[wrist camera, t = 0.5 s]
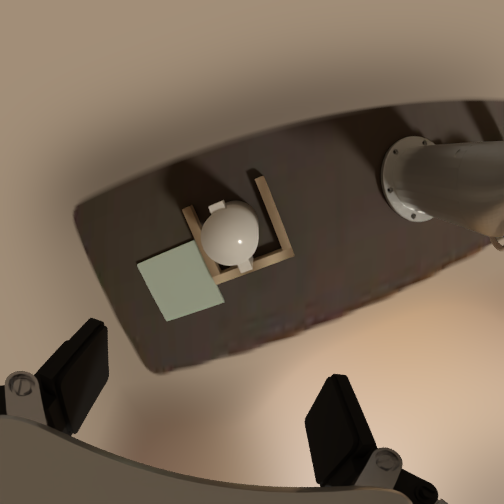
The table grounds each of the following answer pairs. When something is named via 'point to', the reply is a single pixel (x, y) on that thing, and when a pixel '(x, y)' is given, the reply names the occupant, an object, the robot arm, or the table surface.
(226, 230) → the labeled white canister
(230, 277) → the oak stall
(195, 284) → the sage tile
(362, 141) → the table surface
